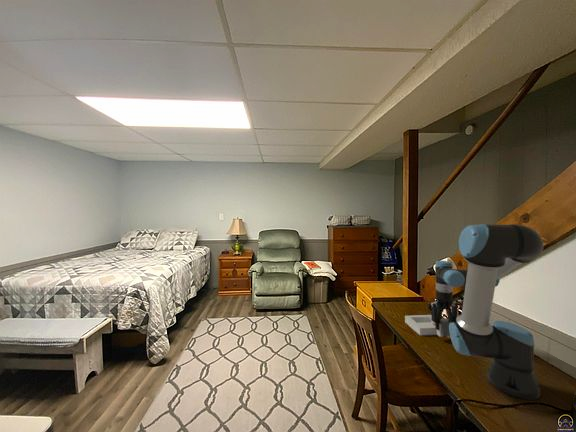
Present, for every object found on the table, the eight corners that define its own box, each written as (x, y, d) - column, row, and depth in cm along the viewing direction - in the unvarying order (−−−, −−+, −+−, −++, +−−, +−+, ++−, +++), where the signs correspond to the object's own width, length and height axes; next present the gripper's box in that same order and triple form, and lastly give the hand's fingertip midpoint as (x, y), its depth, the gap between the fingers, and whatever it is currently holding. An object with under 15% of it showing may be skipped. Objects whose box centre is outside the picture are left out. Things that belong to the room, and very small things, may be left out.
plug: (452, 338, 127) (452, 322, 127) (443, 338, 127) (442, 322, 127) (445, 333, 132) (445, 318, 132) (436, 333, 132) (436, 318, 132)
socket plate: (448, 334, 135) (448, 326, 135) (420, 335, 135) (419, 327, 135) (430, 321, 151) (430, 313, 151) (405, 322, 151) (404, 314, 151)
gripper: (455, 288, 134) (456, 331, 133) (422, 289, 133) (423, 332, 133) (466, 292, 126) (466, 338, 126) (431, 293, 125) (432, 339, 125)
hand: (444, 335), depth 129 cm, fingers closed on plug, 5 cm apart
